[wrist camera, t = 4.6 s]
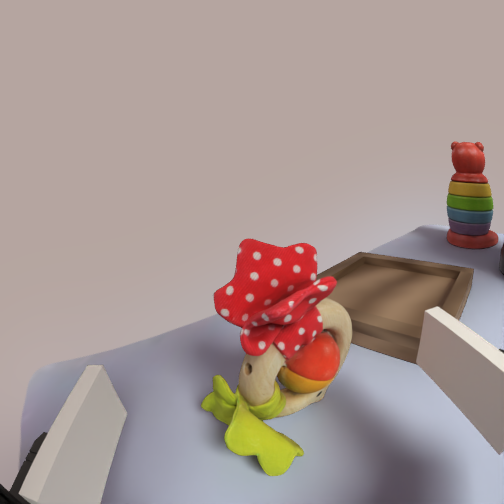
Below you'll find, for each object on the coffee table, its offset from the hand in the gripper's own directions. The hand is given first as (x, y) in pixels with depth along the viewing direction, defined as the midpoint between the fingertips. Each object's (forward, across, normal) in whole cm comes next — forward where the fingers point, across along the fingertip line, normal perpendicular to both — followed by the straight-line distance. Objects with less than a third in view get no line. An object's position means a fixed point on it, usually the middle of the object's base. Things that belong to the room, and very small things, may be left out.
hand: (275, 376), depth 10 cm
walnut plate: (+14, +14, -6) cm, 21 cm away
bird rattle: (+3, +1, -7) cm, 7 cm away
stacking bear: (+27, +40, -7) cm, 49 cm away
